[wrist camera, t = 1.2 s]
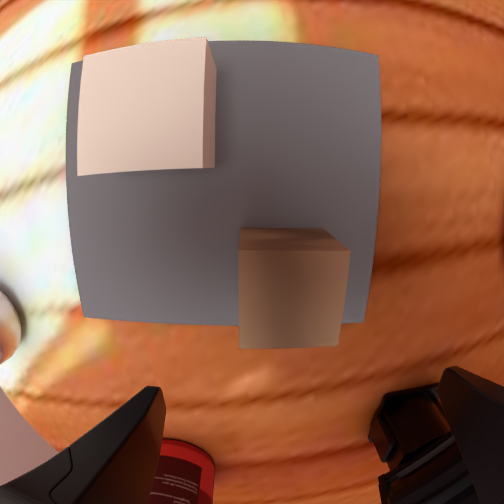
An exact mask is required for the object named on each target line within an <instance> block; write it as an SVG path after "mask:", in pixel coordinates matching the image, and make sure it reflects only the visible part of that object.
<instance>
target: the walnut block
mask: <svg viewBox="0 0 504 504" xmlns="http://www.w3.org/2000/svg"><path fill="white" fill-rule="evenodd" d="M350 252H351V251H350V250H349V249H348V248H346V247H345V246H344V245H343V244H342V243H341V242H339V241H338V240H337V239H336V238H335V237H333V236H332V235H331V234H330V233H329V232H328V231H326V230H325V229H313V228H241V229H240V239H239V250H238V268H239V349H277V348H310V347H330V346H338V342H339V336H340V330H341V324H342V317H343V310H344V303H345V296H346V288H347V280H348V271H349V262H350Z"/></svg>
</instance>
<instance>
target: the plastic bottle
mask: <svg viewBox="0 0 504 504" xmlns="http://www.w3.org/2000/svg"><path fill="white" fill-rule="evenodd" d="M20 340H21V323H20V319H19V316H18V314H17V311H16V309H15V307H14V306H13V304H12V302H11V301H10V300H9V298H8V297H7V296H6V295H5V294H4V293H3V292H2V291H0V364H2V363H3V362H5V361H6V360H8V359H9V358H10V357H12V355H13V354H14V352H15V351H16V349H17V348H18V346H19V344H20Z"/></svg>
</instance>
